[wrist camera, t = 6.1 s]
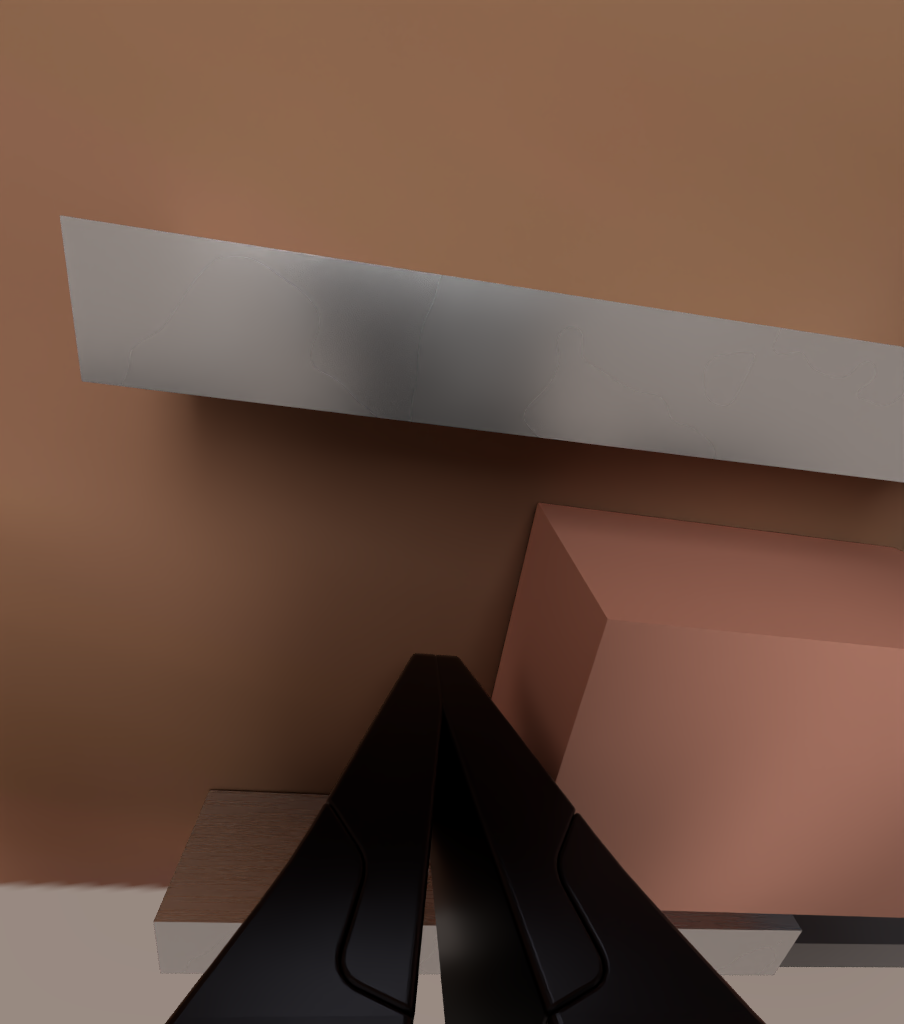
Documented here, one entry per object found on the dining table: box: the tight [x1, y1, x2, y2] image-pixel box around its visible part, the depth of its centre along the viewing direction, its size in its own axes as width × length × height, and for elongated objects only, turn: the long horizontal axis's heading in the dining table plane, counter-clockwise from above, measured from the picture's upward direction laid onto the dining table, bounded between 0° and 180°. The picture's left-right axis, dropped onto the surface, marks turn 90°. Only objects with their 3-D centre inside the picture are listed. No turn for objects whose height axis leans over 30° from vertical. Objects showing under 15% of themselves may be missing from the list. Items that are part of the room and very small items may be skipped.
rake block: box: [491, 503, 904, 918], centre depth 8 cm, size 7×5×4 cm
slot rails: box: [60, 216, 904, 975], centre depth 9 cm, size 12×12×2 cm
